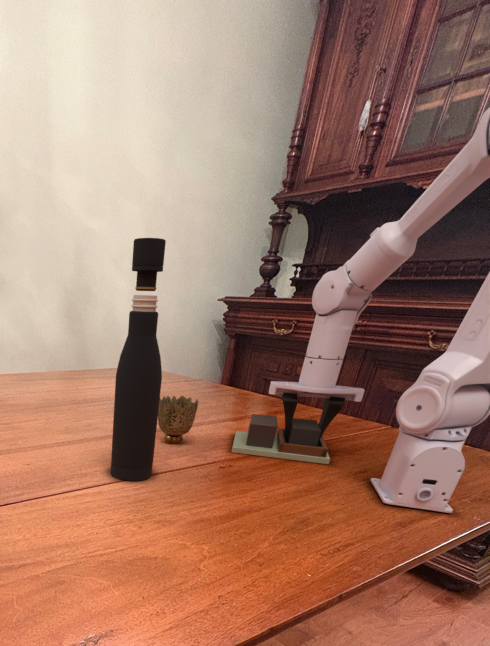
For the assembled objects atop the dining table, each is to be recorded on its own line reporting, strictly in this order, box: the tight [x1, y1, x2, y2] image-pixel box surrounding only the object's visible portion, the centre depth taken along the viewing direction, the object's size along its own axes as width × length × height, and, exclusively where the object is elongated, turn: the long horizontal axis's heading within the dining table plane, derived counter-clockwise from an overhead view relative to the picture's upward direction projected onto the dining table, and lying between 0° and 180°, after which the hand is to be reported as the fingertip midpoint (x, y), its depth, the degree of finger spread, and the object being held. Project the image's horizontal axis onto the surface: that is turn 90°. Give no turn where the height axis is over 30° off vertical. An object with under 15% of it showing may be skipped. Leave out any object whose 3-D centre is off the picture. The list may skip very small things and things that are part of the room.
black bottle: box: [110, 237, 167, 482], centre depth 59 cm, size 6×6×30 cm
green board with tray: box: [231, 413, 331, 465], centre depth 78 cm, size 12×16×5 cm
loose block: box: [285, 417, 321, 447], centre depth 77 cm, size 8×4×4 cm, turn 160°
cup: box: [157, 395, 200, 445], centre depth 80 cm, size 8×7×8 cm
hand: (301, 438), depth 77 cm, fingers closed on loose block, 4 cm apart
